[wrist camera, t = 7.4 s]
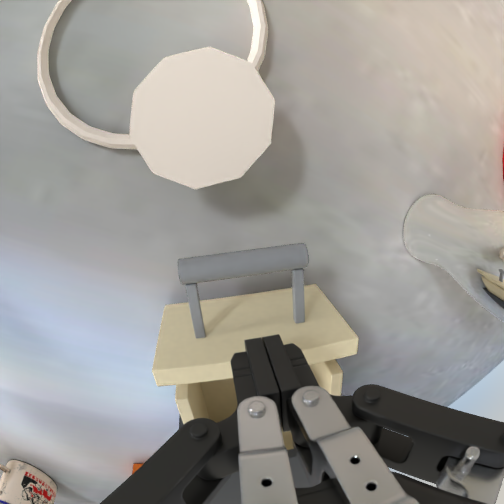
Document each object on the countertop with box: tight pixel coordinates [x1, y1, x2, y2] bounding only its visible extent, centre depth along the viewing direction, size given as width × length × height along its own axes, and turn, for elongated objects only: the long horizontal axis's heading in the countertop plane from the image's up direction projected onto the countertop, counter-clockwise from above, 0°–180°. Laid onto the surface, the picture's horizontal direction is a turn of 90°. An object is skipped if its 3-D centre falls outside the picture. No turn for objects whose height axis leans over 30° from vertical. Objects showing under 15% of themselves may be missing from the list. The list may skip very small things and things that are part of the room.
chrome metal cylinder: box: [403, 194, 504, 322], centre depth 18 cm, size 7×7×15 cm
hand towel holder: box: [37, 0, 275, 189], centre depth 16 cm, size 17×4×21 cm
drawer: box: [152, 243, 359, 450], centre depth 21 cm, size 18×11×8 cm, turn 5°
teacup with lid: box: [0, 460, 57, 504], centre depth 23 cm, size 12×9×12 cm
